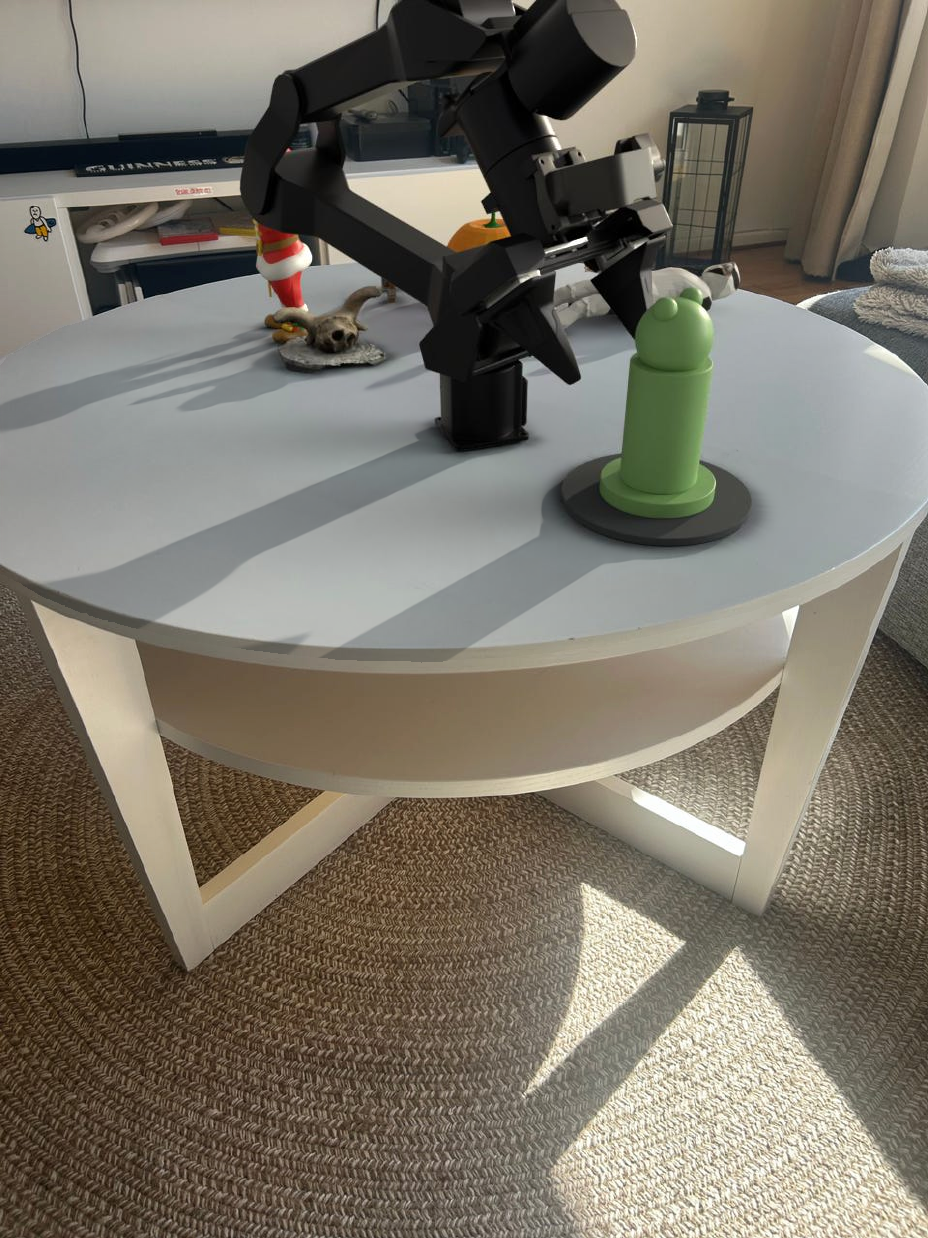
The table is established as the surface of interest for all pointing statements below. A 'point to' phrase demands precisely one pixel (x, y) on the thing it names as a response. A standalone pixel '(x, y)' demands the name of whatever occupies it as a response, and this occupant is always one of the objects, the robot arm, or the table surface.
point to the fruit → (478, 233)
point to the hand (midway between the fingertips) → (615, 365)
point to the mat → (699, 528)
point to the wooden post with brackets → (391, 292)
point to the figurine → (664, 284)
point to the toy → (665, 414)
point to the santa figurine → (282, 274)
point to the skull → (329, 336)
